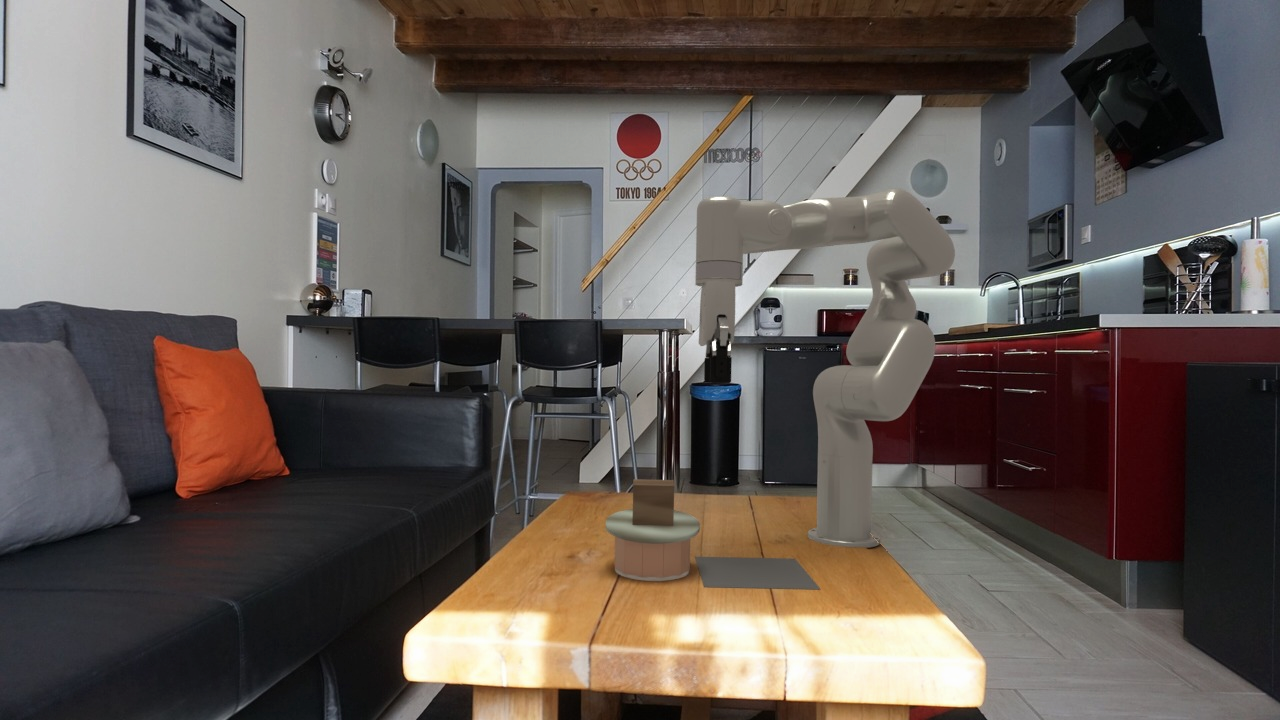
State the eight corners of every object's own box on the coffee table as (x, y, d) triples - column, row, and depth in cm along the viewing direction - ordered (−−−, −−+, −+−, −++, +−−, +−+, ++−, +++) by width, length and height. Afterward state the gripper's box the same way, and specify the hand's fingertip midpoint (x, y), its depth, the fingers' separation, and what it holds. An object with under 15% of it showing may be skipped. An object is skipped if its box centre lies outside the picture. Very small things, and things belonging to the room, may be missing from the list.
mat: (694, 559, 113) (695, 556, 113) (795, 561, 113) (795, 558, 113) (703, 590, 97) (704, 586, 97) (820, 592, 97) (820, 589, 97)
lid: (607, 511, 113) (608, 469, 112) (696, 513, 113) (697, 471, 112) (603, 542, 99) (603, 494, 98) (703, 544, 99) (704, 496, 98)
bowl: (616, 562, 111) (616, 523, 111) (686, 563, 111) (687, 525, 111) (613, 583, 100) (614, 540, 100) (691, 584, 100) (692, 541, 100)
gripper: (691, 282, 123) (689, 381, 122) (700, 267, 105) (698, 383, 105) (735, 283, 123) (733, 382, 122) (750, 268, 105) (748, 384, 105)
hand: (717, 382), depth 114 cm, fingers open, 9 cm apart
